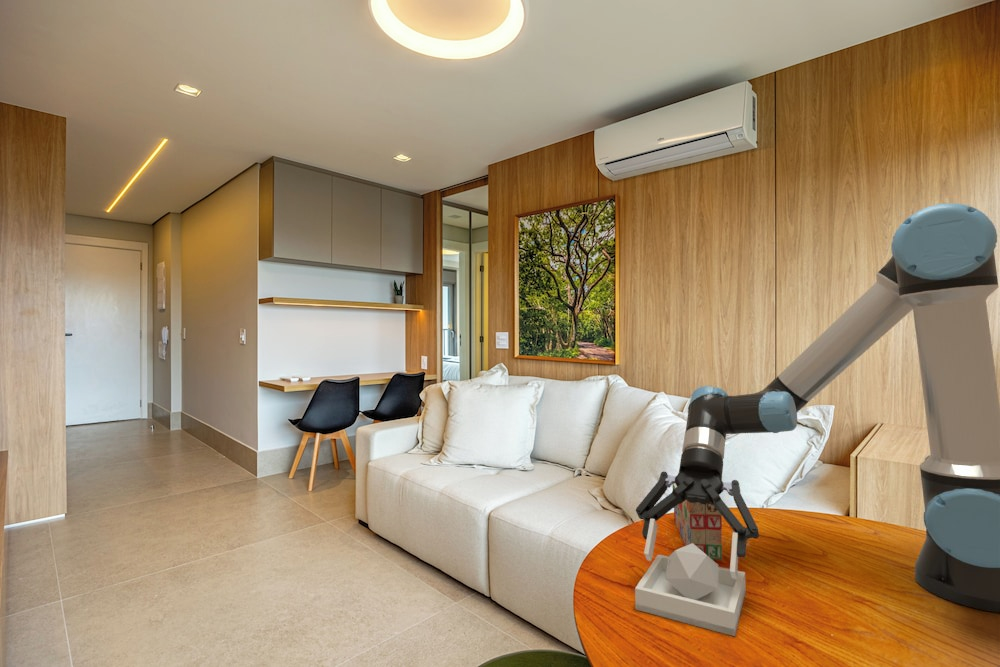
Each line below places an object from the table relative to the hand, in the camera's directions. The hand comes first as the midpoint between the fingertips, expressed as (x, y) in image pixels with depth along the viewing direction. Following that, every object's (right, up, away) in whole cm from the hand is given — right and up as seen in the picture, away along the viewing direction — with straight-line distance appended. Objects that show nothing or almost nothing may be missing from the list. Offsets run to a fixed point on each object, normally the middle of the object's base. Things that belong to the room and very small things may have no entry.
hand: (688, 566), depth 83 cm
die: (+1, -6, +2) cm, 6 cm away
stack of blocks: (+12, -7, +28) cm, 32 cm away
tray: (+1, -7, +2) cm, 7 cm away
